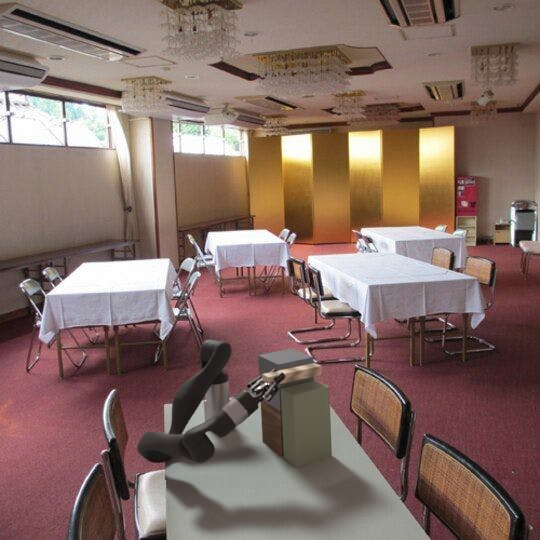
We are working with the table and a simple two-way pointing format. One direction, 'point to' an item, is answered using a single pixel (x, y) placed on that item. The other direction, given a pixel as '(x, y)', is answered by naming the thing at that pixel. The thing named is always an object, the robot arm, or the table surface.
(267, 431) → the walnut crate
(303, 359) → the block
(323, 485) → the table surface
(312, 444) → the olive box
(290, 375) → the birch slat
